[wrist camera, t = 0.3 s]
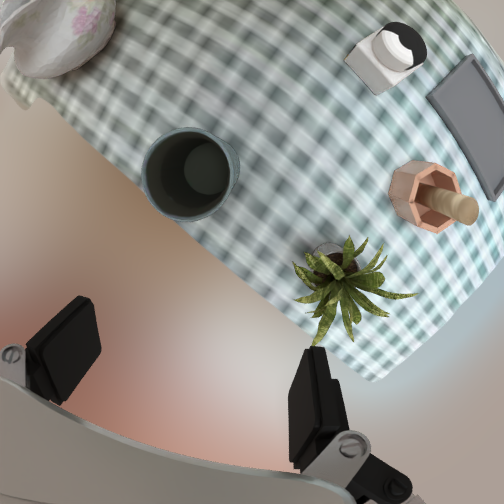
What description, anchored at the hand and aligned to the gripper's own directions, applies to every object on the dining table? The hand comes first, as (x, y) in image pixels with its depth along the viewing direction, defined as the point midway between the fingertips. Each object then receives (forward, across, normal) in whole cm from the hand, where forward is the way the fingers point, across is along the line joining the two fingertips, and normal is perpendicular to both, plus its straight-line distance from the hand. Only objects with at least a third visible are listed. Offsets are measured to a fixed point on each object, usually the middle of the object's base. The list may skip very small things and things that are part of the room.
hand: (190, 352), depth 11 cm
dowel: (+30, -25, -8) cm, 40 cm away
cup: (+31, -25, -8) cm, 40 cm away
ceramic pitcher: (+31, +34, -29) cm, 55 cm away
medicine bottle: (+31, -15, -26) cm, 43 cm away
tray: (+31, -38, -24) cm, 54 cm away
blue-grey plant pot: (+31, +7, -5) cm, 32 cm away
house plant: (+31, -14, +4) cm, 34 cm away
